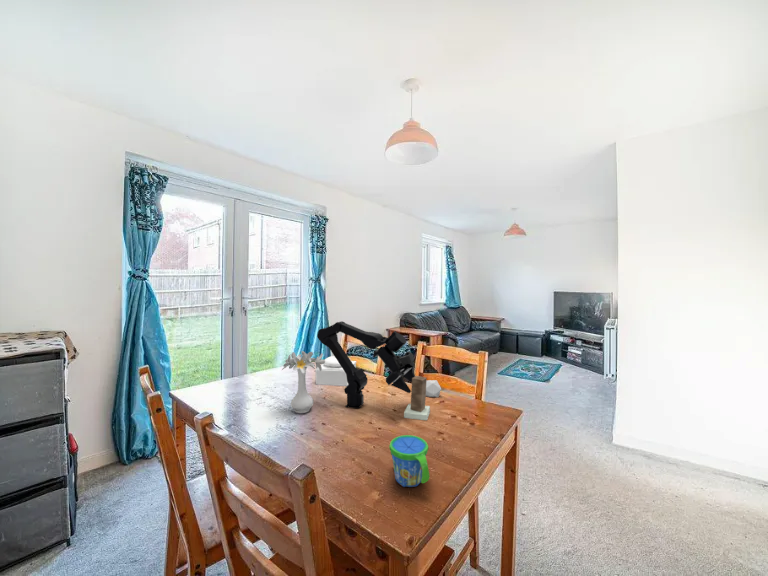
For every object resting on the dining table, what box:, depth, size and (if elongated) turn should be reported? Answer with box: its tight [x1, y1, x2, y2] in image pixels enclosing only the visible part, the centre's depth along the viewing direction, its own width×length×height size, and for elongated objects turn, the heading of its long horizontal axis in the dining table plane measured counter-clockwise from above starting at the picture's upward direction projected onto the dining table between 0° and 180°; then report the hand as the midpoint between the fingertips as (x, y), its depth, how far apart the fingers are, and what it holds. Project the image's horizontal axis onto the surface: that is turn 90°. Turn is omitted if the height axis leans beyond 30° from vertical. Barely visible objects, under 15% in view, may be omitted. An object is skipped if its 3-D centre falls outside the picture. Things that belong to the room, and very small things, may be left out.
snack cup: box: [388, 434, 431, 488], centre depth 88 cm, size 16×10×10 cm
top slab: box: [403, 403, 431, 421], centre depth 128 cm, size 9×9×2 cm
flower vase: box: [281, 350, 325, 414], centre depth 135 cm, size 13×18×25 cm
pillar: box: [410, 375, 427, 412], centre depth 128 cm, size 4×4×12 cm
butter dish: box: [314, 355, 357, 387], centre depth 175 cm, size 18×18×16 cm
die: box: [426, 379, 442, 398], centre depth 149 cm, size 8×9×10 cm
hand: (414, 388), depth 128 cm, fingers open, 9 cm apart
